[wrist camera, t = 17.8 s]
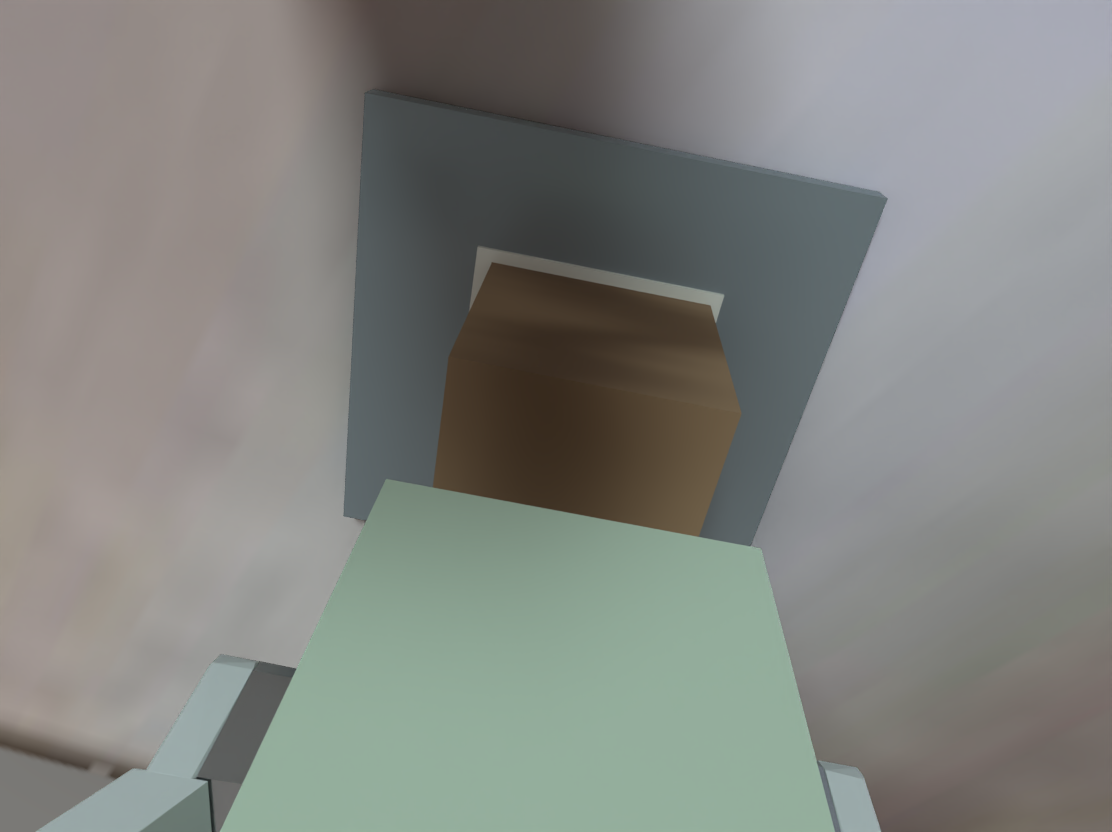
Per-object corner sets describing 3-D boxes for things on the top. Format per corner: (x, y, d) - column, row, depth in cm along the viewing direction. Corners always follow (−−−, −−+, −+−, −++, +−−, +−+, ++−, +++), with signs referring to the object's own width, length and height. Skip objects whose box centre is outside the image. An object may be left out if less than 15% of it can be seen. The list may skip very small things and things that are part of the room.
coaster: (879, 191, 16) (889, 199, 16) (730, 575, 22) (733, 592, 21) (373, 89, 16) (363, 93, 15) (350, 503, 22) (342, 518, 21)
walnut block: (710, 305, 17) (741, 413, 13) (656, 484, 20) (667, 626, 15) (491, 261, 17) (448, 355, 13) (465, 448, 20) (421, 579, 15)
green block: (760, 548, 10) (872, 974, 6) (667, 783, 12) (695, 1206, 8) (386, 479, 10) (206, 861, 6) (365, 730, 12) (230, 1131, 8)
